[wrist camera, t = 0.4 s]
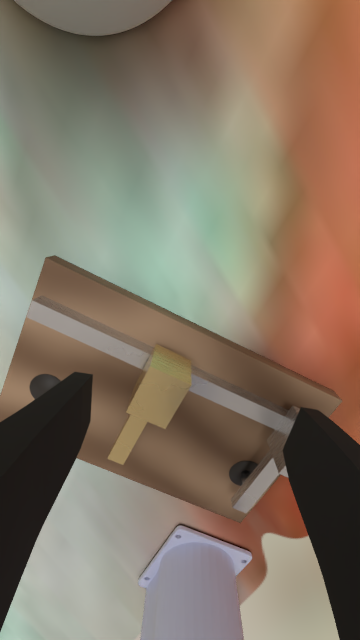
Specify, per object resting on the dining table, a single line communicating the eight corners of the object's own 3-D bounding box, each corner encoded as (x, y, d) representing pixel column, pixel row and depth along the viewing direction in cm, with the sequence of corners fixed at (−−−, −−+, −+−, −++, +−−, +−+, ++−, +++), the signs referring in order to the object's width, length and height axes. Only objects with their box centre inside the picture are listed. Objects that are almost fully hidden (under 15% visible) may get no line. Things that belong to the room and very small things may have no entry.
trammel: (256, 495, 23) (269, 549, 19) (8, 392, 20) (-33, 431, 16) (324, 412, 20) (356, 456, 16) (46, 281, 17) (7, 297, 14)
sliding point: (135, 448, 21) (123, 498, 17) (106, 436, 21) (88, 484, 17) (191, 351, 18) (191, 385, 15) (158, 336, 18) (150, 366, 14)
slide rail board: (238, 509, 25) (240, 523, 24) (0, 413, 22) (-10, 424, 21) (334, 391, 21) (342, 401, 20) (54, 255, 18) (45, 257, 17)
